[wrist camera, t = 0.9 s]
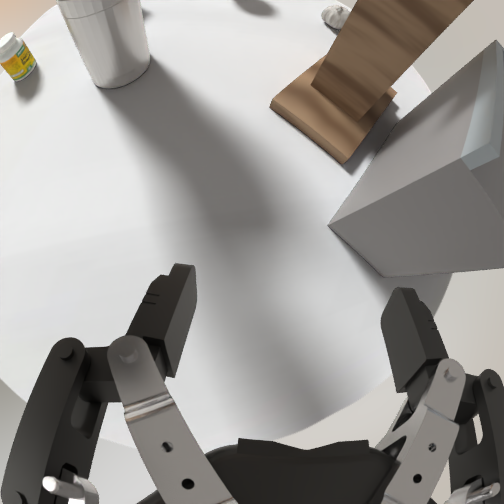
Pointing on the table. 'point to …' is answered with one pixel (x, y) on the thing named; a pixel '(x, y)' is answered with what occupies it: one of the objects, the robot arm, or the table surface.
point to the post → (362, 70)
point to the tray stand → (436, 181)
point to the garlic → (335, 16)
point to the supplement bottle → (16, 57)
